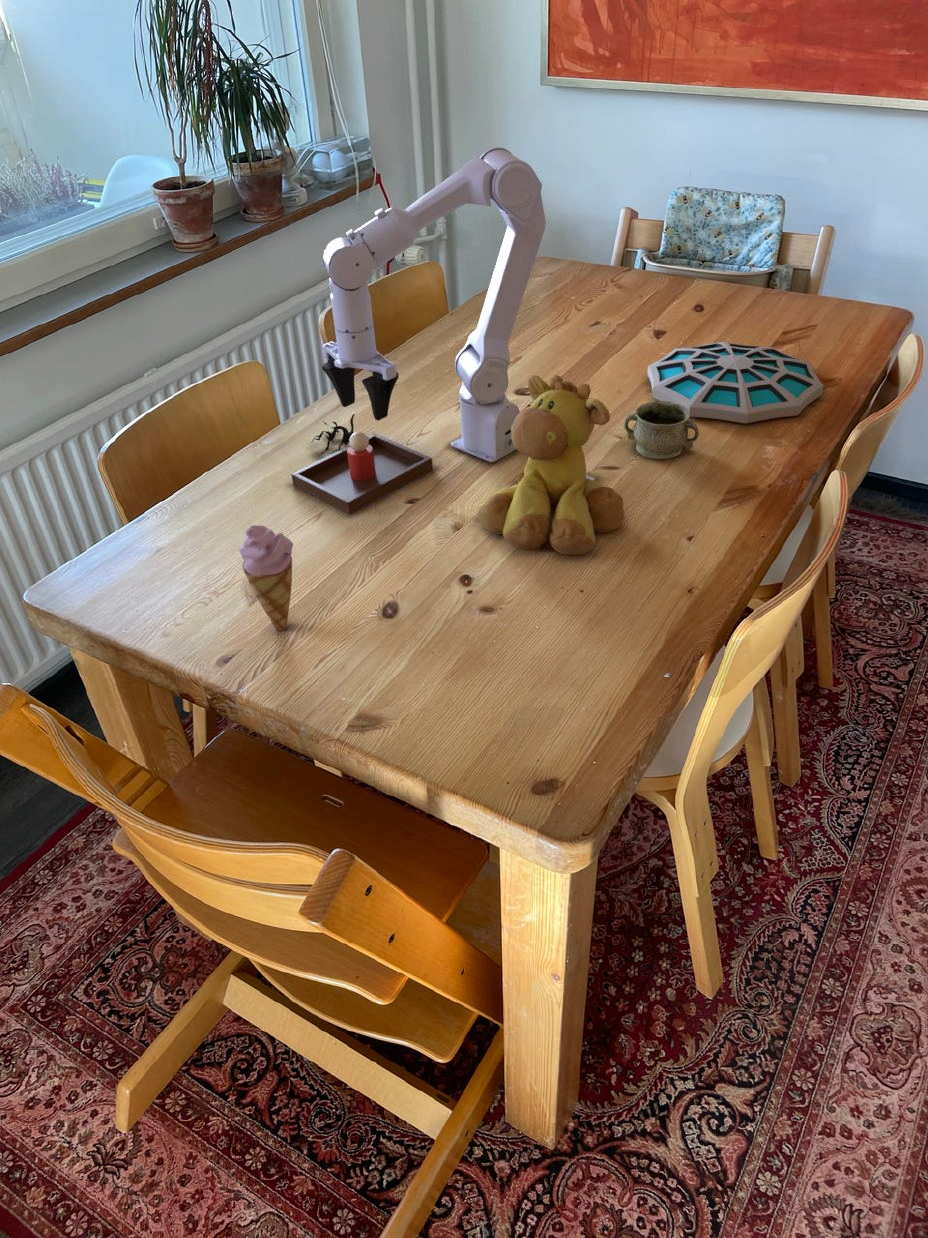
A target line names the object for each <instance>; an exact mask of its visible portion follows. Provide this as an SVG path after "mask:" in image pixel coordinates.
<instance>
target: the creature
mask: <svg viewBox="0 0 928 1238" xmlns="http://www.w3.org/2000/svg"><path fill="white" fill-rule="evenodd" d="M355 416H356V413H353V414H352V416H351V417H350V420H349V422H350V423H349V424H350V431H349V430H348V428H346V427H344V426H342V425H338V424H337V422H336V421H332V424H334V425H335V426H330V425H329V424H328V423H327V422H325V420H323V419H321V421H322V422H323V423H324V425H325V426H326V428H327V430H321V432H320V434H318V435H316V436H314V437H313V439H312V441H311V443H310V444H312V443H313V442H314V440H316V441H320V440H321V438H322V437H323V435H325V437H326V439H327V444H326V447H325V449H324V450H323V451H321V452H320V453H318V454H317V455H316V456H317V457H319V456H321V455H323V454H324V453H325V452H327V451H330V449H329V448H330V444H331V442H332V443H335V441H334V439H335V438H336V434H337V433H340V431H339V430H342V433H343V434H342V439H340V441H341V442H340V444H339V446H338V449H335V450H332V452H333V451H335V452H337V451H339V450H341V447H342V445H343V444H344V445H345V446H346V447H348V446H347V445H348V444H349V439H350V437H351V435H352V434H354V417H355ZM328 426H329V428H330V429H332V431H331V432H330V430H329V428H328ZM324 432H325V433H324Z"/></svg>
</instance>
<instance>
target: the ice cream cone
mask: <svg viewBox="0 0 928 1238" xmlns="http://www.w3.org/2000/svg"><path fill="white" fill-rule="evenodd" d="M244 533H245V536H247V537H245V538H244V541H243V544H242V545H241V546H240V547H239V548H238V552H239V553H240V556H241V559H242V560H243V563H242V571H243V573H244V575H245V577H246V579H247V582H248V584H249V586H250V587H251V589H252V591H253V593H254V595H255V597H256V599H257V601H258V602H259V604H260V606H261V607H262V609H263V611H264V612H265V614H266V616H267V618H268V619H269V621H270V622H271V624H272V625H273V627H274V629H275V630H276V631H278V632H282V631H285V630H286V629H287V626H288V619H289V611H290V604H291V595H292V582H293V556H292V552H293V547H294V543H293V542H292V540H291V539H290V538H288V536H285V535H284V534H283V533H282V532H279V533H277V534H276V533H275V532H274V531H273V530H272V529H271V528H268V527H267V526H265V525H250V526H249V527H247V528H246V529H245V531H244Z"/></svg>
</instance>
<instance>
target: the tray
mask: <svg viewBox="0 0 928 1238" xmlns="http://www.w3.org/2000/svg"><path fill="white" fill-rule="evenodd" d="M367 437H368V440H369V445H371V446H372V448H373V455H374V463H375V472H376V474H375V476H374V477H373V478H371V479H368V480H363V481H359V480H354V479H352V478H351V476H350V469H349V462H348V454H347V449H348V448H349V447H350V445H348V446H346V447H344V448H342V449H340V450H339V449H338V450H339V451H335V452H333V453H332V454H329V455H327V456H325V457H323V458H321V459H319V460H317V461H315V462H313V463H311V464H309V465H306V466H305V467H303V468H301V469H299V470H297V471H295V472H292V473H291V474H290V476H291V480H292V486H293V487H295V488H297V489H299V490H301V491H303V492H304V493H306V494H309V495H311V496H313V497H314V498H316V499H318V500H320V501H323V502H324V503H326V504H328V505H329V506H332V507H333V508H335V509H338V510H340V511H342V512H344V513H345V514H347V515H352V514H354V513H355V512H358V511H359V510H361V509H363V508H365V507H367V506H368V505H370V504H373V503H374V502H376V501H378V500H379V499H381V498H383V497H386V496H387V495H388V494H390V493H392V492H394V491H396V490H398V489H400V488H402V487H404V486H405V485H407V484H409V483H411V482H413V481H415V480H416V479H418V478H420V477H422V476H424V475H425V474H427V473H429V472H431V471H433V470H434V467H433V465H434V464H433V458H432V457H431V456H429V455H426V454H423V453H421V452H420V451H417V450H415V449H412V448H410V447H407V446H405V445H403V444H400V443H398V442H395V441H393V440H391V439H389V438H387V437H384V436H382V435H380V434H378V433H372V434H370V435H368V436H367Z"/></svg>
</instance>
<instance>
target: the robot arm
mask: <svg viewBox="0 0 928 1238" xmlns="http://www.w3.org/2000/svg"><path fill="white" fill-rule="evenodd" d="M542 189H543V183H542V181H541V180H540V178H539V177H538V175H537V174H536V172H535V170H534V169H533V168H532V166H531V165H530V164H529V163H527V162H526V161H524V160H522V159H519V158H518V157H517V156H515V155H514V154H513V153H512V152H511V151H510V150H509V149H507V148H504V147H499V146H496V147H492V148H489V149H487V150H486V151H484V152H483V153H482V154H481V155H480V156H476V157H474V158H471V159H469V160H468V161H467V162H466V163H465V164H464V165H463V166H462V167H460V168H459V169H457V170H456V171H455V172H453V174H451V175H450V176H449V177H447V178H446V179H444V180H442V182H440V183H439V184H437V185H436V186H435V187H433V188H432V189H430V190H429V191H428V192H426V193H425V194H424V195H422V196H421V197H419V198H418V199H417V200H415V201H414V202H413V203H411V204H409V206H407V207H406V208H404V209H400V208H397V207H389V208H388V209H386V210H385V209H384V208H383V207H381V208H379V209H378V210H376V211H374V214H375V217H374V218H372V219H371V220H370V221H369V220H368V222H366V223H365V224H363V225H362V226H360V227H358V228H357V229H356V230H354V229H350V230H348V231H347V232H346V236H347V237H345V236H344V237H336V238H335V239H333V240H331V241H330V242H329V243H328V244H327V245H326V249H324V252H323V258H322V259H321V261H322V265H323V267H324V269H325V270H326V272H327V273H328V274H329V278H328V279H329V291H330V303H331V311H332V318H333V326H334V331H335V339H336V342H333V341H329V342H326V343H324V344H322V345H321V351H322V357H323V358H325V359H326V360H327V362H325V363H323V364H322V365H321V369H322V371H323V372H324V373H325V374H326V376H327V378H328V379H329V381H330V382H331V384H332V385H333V388H334V390H335V392H336V394H337V397H338V399H339V402H340V405H341V406H342V407H343V408H346V407H349V406H351V405H353V404H355V401H356V389H355V388H356V387H355V372H356V369H358V370H364V371H366V372H369V373H371V374H372V375H370V376H368V377H366V378H364V379H361V383H362V385H363V386H364V388H365V390H366V392H367V394H368V397H369V401H370V406H371V410H372V415H373V418H374V420H376V421H382V420H383V419H385V418H387V417H388V416H389V415H388V414H389V408H390V402H391V397H392V393H393V390H394V387H395V386H396V384H397V381H398V379H399V372H398V371H397V365H396V363H395V362H392V361H390V360H389V359H387V358H386V357H385V356H384V355H383V354H382V353H380V352H379V351H378V350H377V343H376V334H375V326H374V317H373V316H374V315H373V309H372V299H371V293H370V291H369V283H368V282H369V280H370V278H371V274H372V272H373V271H374V270H377V269H379V267H382V266H383V265H384V264H387V262H389V261H391V260H393V259H394V258H396V257H397V256H398V255H400V254H402V253H403V252H405V251H406V250H408V249H409V248H411V247H413V246H414V243H415V239H416V236H417V233H418V232H420V231H421V230H423V229H424V228H426V227H428V226H430V225H431V224H433V223H434V222H437V221H438V220H440V219H442V218H444V217H445V216H447V215H449V214H450V213H452V212H454V211H456V210H457V209H459V208H461V207H462V206H464V205H467V204H469V205H477V206H484V207H492V201H493V202H494V203H495V205H496V206H497V209H498V211H499V212H500V215H501V216H502V218H503V220H504V222H505V223H506V226H507V227H506V230H505V234H504V237H503V241H502V244H501V247H500V250H499V253H498V256H497V261H496V264H495V267H494V270H493V273H492V275H491V276H492V277H491V280H490V282H489V287H488V290H487V293H486V297H485V299H484V303H483V306H482V308H481V309H482V310H481V312H480V316H479V320H478V324H477V326H476V329H475V330H474V331H472V332H471V333H470V334H469V335H468V337H467V341H466V343H465V345H464V347H463V348H462V349H461V350H460V351H459V352H458V354H457V355H456V358H455V361H454V369H455V373H456V374H457V376H458V377H459V379H460V380H462V384H461V387H460V389H459V407H460V408H459V410H460V412H459V413H460V430H461V431H460V432H461V433H460V434H461V437H460V438H457V439H456V440H454V441H452V442H451V443H450V447H452V448H455V449H457V450H459V451H462V452H464V453H467V454H469V455H470V456H471V455H472V456H474V457H477V458H480V459H481V460H484V461H486V462H489V463H495V462H497V461H498V460H500V459H502V458H503V457H506V456H507V455H509V454H511V453H512V452H514V451H516V450H517V449H516V448H515V447H514V445H513V442H512V436H511V428H512V425H513V423H514V420H515V418H516V417H517V415H518V414H519V413H520V409H519V406H517V405H516V404H515V403H513V402H512V401H510V399H508V397H507V396H506V392H507V389H508V387H509V376H508V369H509V366H510V362H511V357H510V356H511V355H510V346H509V341H510V339H511V336H512V332H513V329H514V326H515V323H516V320H517V316H518V313H519V310H520V307H521V304H522V302H523V298H524V295H525V292H526V289H527V286H528V282H529V280H530V277H531V273H532V270H533V267H534V264H535V260H536V258H537V255H538V251H539V249H540V246H541V242H542V239H543V236H544V233H545V230H546V225H547V222H546V221H547V220H546V215H545V209H544V203H543V197H542Z"/></svg>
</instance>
